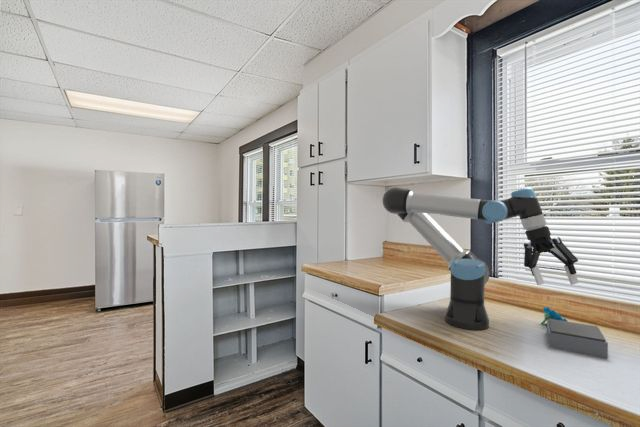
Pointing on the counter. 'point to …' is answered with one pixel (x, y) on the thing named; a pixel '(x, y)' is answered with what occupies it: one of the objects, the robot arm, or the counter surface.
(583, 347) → the stand
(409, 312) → the counter surface
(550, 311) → the teal branching figurine
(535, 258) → the robot arm
